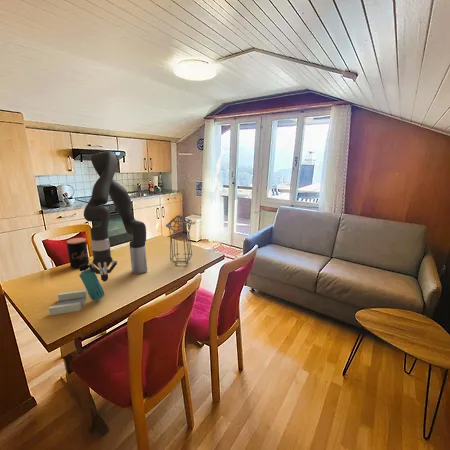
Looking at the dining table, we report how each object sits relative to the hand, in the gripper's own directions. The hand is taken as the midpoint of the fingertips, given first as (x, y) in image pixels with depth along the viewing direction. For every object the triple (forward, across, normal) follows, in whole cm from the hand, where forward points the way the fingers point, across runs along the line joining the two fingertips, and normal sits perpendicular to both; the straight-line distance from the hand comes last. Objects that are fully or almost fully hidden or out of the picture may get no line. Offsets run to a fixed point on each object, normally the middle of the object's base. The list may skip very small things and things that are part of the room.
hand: (104, 280), depth 113 cm
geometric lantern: (+11, -42, -34) cm, 55 cm away
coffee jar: (+11, +23, -50) cm, 56 cm away
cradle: (+11, +16, 0) cm, 20 cm away
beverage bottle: (+10, +3, 0) cm, 11 cm away
